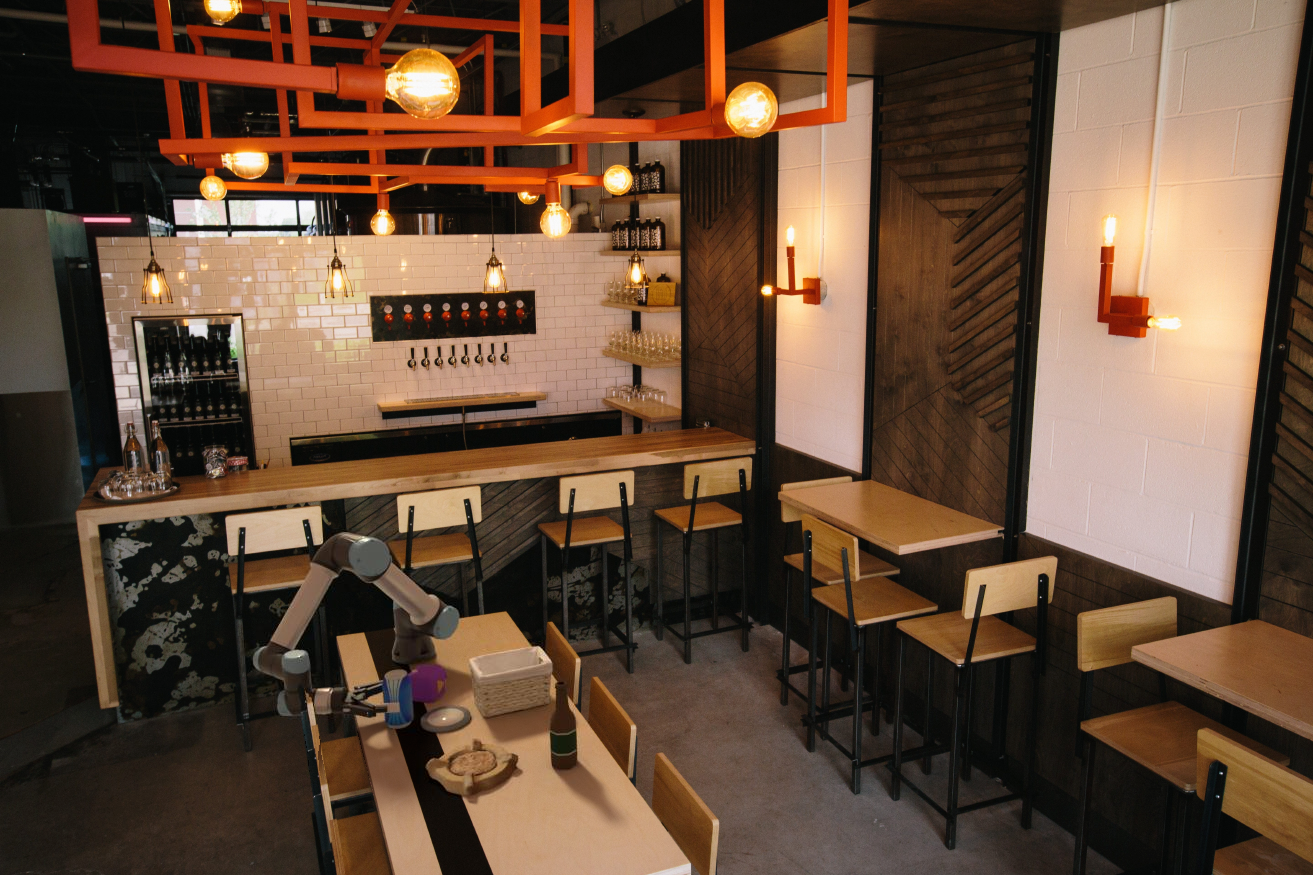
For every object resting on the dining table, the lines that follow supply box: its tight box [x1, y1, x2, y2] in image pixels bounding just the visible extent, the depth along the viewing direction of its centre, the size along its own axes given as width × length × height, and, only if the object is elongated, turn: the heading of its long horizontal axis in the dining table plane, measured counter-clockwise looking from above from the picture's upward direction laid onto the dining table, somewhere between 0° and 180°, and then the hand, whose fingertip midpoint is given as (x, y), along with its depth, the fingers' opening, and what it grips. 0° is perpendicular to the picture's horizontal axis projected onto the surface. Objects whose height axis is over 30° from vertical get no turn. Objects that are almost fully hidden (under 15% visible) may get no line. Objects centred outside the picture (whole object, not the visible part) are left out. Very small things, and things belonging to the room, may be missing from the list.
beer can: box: [382, 669, 415, 730], centre depth 266 cm, size 8×8×16 cm
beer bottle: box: [549, 680, 578, 771], centre depth 241 cm, size 8×8×24 cm
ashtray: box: [425, 737, 519, 796], centre depth 239 cm, size 24×24×5 cm
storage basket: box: [468, 645, 554, 718], centre depth 278 cm, size 24×16×15 cm
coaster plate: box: [420, 705, 472, 734], centre depth 268 cm, size 15×15×1 cm
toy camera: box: [407, 664, 448, 704], centre depth 285 cm, size 11×14×10 cm
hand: (404, 696), depth 266 cm, fingers open, 13 cm apart
